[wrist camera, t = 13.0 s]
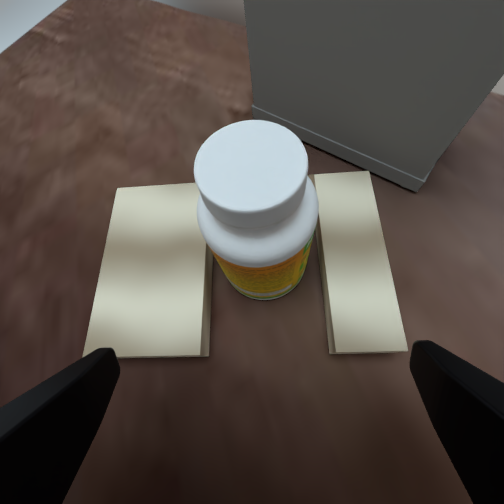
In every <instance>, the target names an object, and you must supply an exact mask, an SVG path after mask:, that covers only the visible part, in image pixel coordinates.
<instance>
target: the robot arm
mask: <svg viewBox="0 0 504 504" xmlns="http://www.w3.org/2000/svg"><path fill="white" fill-rule="evenodd" d="M410 370H411V373H412V376H413V378H414V381H415V383H416V386H417V388H418V390H419V393H420V395H421V398H422V400H423V403H424V405H425V408H426V410H427V413H428V415H429V418H430V420H431V422H432V424H433V427H434V429H435V431H436V433H437V435H438V437H439V439H440V441H441V442H442V444H443V446H444V448H445V450H446V452H447V454H448V456H449V458H450V460H451V462H452V463H453V465H454V467H455V469H456V471H457V473H458V475H459V477H460V479H461V481H462V483H463V484H464V486H465V488H466V490H467V492H468V494H469V496H470V498H471V500H472V502H473V504H504V383H503V382H501V381H499V380H498V379H496V378H494V377H492V376H491V375H489V374H487V373H485V372H484V371H482V370H480V369H479V368H477V367H475V366H473V365H472V364H470V363H468V362H467V361H465V360H463V359H461V358H460V357H458V356H456V355H455V354H453V353H451V352H449V351H448V350H446V349H444V348H442V347H441V346H439V345H437V344H436V343H434V342H432V341H429V340H417V341H415V342H414V343H413V346H412V351H411V357H410ZM119 375H120V366H119V362H118V359H117V356H116V353H115V350H114V349H113V348H111V347H101V348H98V349H96V350H94V351H93V352H91V353H89V354H88V355H86V356H84V357H83V358H81V359H80V360H78V361H76V362H75V363H73V364H71V365H70V366H68V367H66V368H65V369H63V370H62V371H60V372H58V373H57V374H55V375H53V376H52V377H50V378H48V379H47V380H45V381H44V382H42V383H40V384H39V385H37V386H35V387H34V388H32V389H31V390H29V391H27V392H26V393H24V394H22V395H21V396H19V397H17V398H16V399H14V400H13V401H11V402H9V403H8V404H6V405H4V406H3V407H1V408H0V504H62V503H63V501H64V499H65V496H66V494H67V492H68V490H69V488H70V486H71V484H72V482H73V480H74V478H75V476H76V474H77V472H78V470H79V468H80V466H81V464H82V462H83V460H84V458H85V456H86V454H87V452H88V450H89V448H90V445H91V443H92V441H93V439H94V437H95V435H96V433H97V431H98V429H99V427H100V424H101V422H102V420H103V417H104V415H105V412H106V409H107V407H108V404H109V402H110V399H111V396H112V394H113V391H114V388H115V386H116V383H117V381H118V378H119Z"/></svg>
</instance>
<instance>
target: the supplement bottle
mask: <svg viewBox="0 0 504 504" xmlns="http://www.w3.org/2000/svg"><path fill="white" fill-rule="evenodd" d="M307 174H308V156H307V153H306V150H305V147H304V145H303V143H302V142H301V141H300V139H299V138H298V137H297V136H296V135H295V134H294V133H293V132H292V131H290V130H289V129H287V128H286V127H284V126H281V125H279V124H277V123H273V122H269V121H264V120H247V121H241V122H236V123H233V124H230V125H228V126H226V127H223V128H222V129H220V130H218V131H217V132H215V133H214V134H212V135H211V136H210V137H209V138H208V139H207V140H206V141H205V142H204V143H203V145H202V146H201V148H200V149H199V151H198V153H197V156H196V159H195V164H194V177H195V182H196V185H197V187H198V189H199V192H200V195H199V198H198V202H197V221H198V225H199V228H200V231H201V233H202V235H203V237H204V239H205V241H206V243H207V245H208V247H209V248H210V250H211V252H212V253H213V255H214V257H215V258H216V260H217V262H218V263H219V265H220V267H221V268H222V270H223V272H224V274H225V276H226V277H227V279H228V280H229V282H230V283H231V285H232V286H233V287H234V288H235V289H236V290H237V291H239V292H240V293H241V294H243V295H245V296H247V297H250V298H253V299H258V300H271V299H275V298H279V297H281V296H283V295H285V294H287V293H289V292H290V291H291V290H292V289H294V288H295V287H296V285H297V284H298V283H299V282H300V280H301V278H302V276H303V274H304V271H305V268H306V264H307V260H308V256H309V251H310V247H311V243H312V239H313V235H314V232H315V228H316V224H317V219H318V212H319V203H318V196H317V192H316V190H315V187H314V185H313V183H312V181H311V180H310V178H309V177H308V176H307Z"/></svg>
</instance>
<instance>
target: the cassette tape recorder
mask: <svg viewBox="0 0 504 504" xmlns="http://www.w3.org/2000/svg"><path fill="white" fill-rule="evenodd" d="M244 8H245V17H246V28H247V39H248V49H249V59H250V69H251V80H252V90H253V100H254V104H253V105H252V115H253V118H254V119H256V120H264V121H269V122H273V123H277V124H279V125H281V126H284V127H286V128H287V129H289V130H290V131H292V132H293V133H294V134H295V135H296V136H297V137H298V138H299V139H300V140H303V141H305V142H307V143H309V144H311V145H314V146H316V147H318V148H320V149H322V150H325V151H327V152H329V153H331V154H333V155H336V156H338V157H340V158H342V159H344V160H347V161H349V162H351V163H353V164H355V165H358V166H360V167H362V168H364V169H366V170H369V171H371V172H373V173H375V174H377V175H380V176H382V177H384V178H386V179H388V180H391V181H393V182H395V183H397V184H399V185H400V186H402V187H404V188H408V189H410V190H413V191H415V192H417V191H418V190H419V189H420V187H421V186H422V185H423V184H424V182H425V181H426V179H427V177H428V176H429V174H430V172H431V170H432V169H433V167H434V165H435V164H436V162H437V161H438V159H439V158H440V157H441V155H442V154H443V153H444V152H445V150H446V149H447V148H448V146H449V145H450V144H451V142H452V141H453V140H454V138H455V137H456V136H457V135H458V133H459V132H460V131H461V129H462V128H463V127H464V125H465V124H466V123H467V122H468V120H469V119H470V118H471V116H472V115H473V114H474V112H475V111H476V110H477V108H478V107H479V106H480V105H481V103H482V102H483V101H484V99H485V98H486V97H487V95H488V94H489V93H490V91H491V90H492V89H493V88H494V86H495V85H496V84H497V82H498V81H499V80H500V78H501V77H502V76H503V74H504V0H244Z"/></svg>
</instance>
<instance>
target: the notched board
mask: <svg viewBox="0 0 504 504" xmlns="http://www.w3.org/2000/svg"><path fill="white" fill-rule="evenodd" d="M307 176H308V177H309V178H310V180H311V181H312V183H313V185H314V187H315V190H316V192H317V196H318V203H319V212H318V219H317V224H316V228H315V232H316V240H317V249H318V258H319V267H320V275H321V284H322V293H323V302H324V310H325V319H326V328H327V336H328V345H329V354H361V353H396V352H404V351H408V348H407V343H406V339H405V334H404V329H403V325H402V320H401V316H400V311H399V306H398V302H397V297H396V293H395V288H394V283H393V279H392V274H391V270H390V265H389V261H388V256H387V251H386V247H385V242H384V238H383V233H382V228H381V224H380V219H379V215H378V210H377V205H376V201H375V196H374V192H373V187H372V182H371V178H370V173H369V171H358V172H343V173H329V174H315V175H307ZM199 195H200V192H199V189H198V187H197V185H196V183H185V184H171V185H156V186H142V187H128V188H117V192H116V197H115V202H114V207H113V211H112V216H111V221H110V226H109V231H108V236H107V241H106V246H105V250H104V255H103V260H102V265H101V270H100V275H99V280H98V285H97V289H96V294H95V299H94V304H93V309H92V314H91V319H90V324H89V328H88V333H87V338H86V343H85V348H84V353H83V357H84V356H86V355H88V354H89V353H91V352H93V351H94V350H96V349H98V348H101V347H111V348H113V349H114V350H115V353H116V356H117V358H155V357H207V356H209V343H210V319H211V295H212V271H213V253H212V252H211V250H210V248H209V247H208V245H207V243H206V241H205V239H204V237H203V235H202V233H201V231H200V228H199V225H198V221H197V202H198V198H199Z"/></svg>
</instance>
